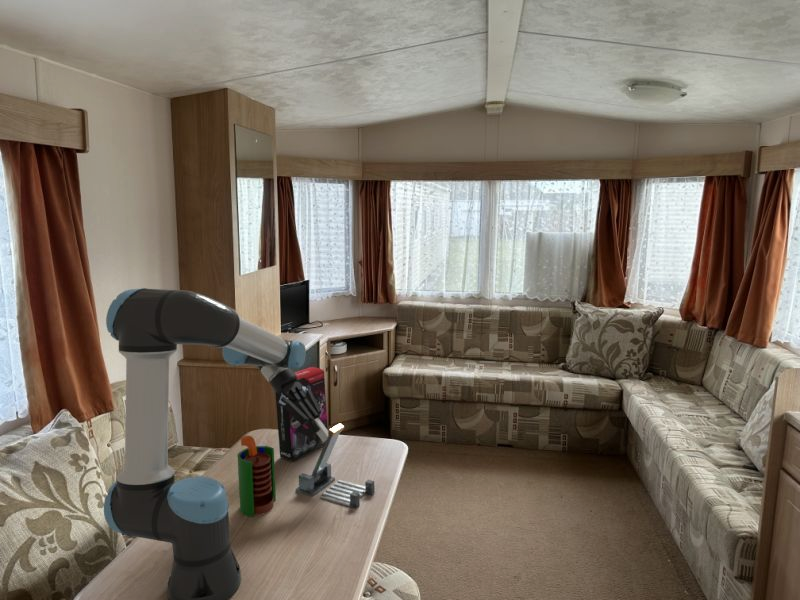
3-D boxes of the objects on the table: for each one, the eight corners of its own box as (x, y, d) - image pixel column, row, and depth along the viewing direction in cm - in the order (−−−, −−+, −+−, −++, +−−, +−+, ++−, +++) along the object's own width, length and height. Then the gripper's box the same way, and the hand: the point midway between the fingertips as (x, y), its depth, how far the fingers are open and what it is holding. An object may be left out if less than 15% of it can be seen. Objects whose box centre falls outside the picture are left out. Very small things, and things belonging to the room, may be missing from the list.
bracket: (354, 509, 153) (354, 492, 152) (295, 491, 163) (294, 475, 162) (375, 491, 162) (375, 475, 162) (318, 475, 172) (318, 460, 172)
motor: (264, 518, 149) (260, 447, 146) (233, 515, 151) (228, 445, 148) (280, 499, 159) (276, 432, 156) (250, 496, 161) (246, 429, 157)
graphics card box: (291, 463, 181) (287, 382, 176) (277, 457, 185) (273, 378, 180) (329, 445, 194) (326, 368, 189) (315, 440, 198) (312, 365, 194)
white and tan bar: (311, 487, 164) (334, 433, 156) (305, 482, 164) (328, 428, 157) (322, 479, 168) (345, 427, 161) (316, 474, 169) (339, 422, 161)
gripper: (271, 373, 159) (320, 440, 154) (300, 362, 170) (347, 424, 165) (257, 388, 162) (306, 454, 157) (287, 376, 174) (333, 437, 168)
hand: (327, 438), depth 161 cm, fingers closed
